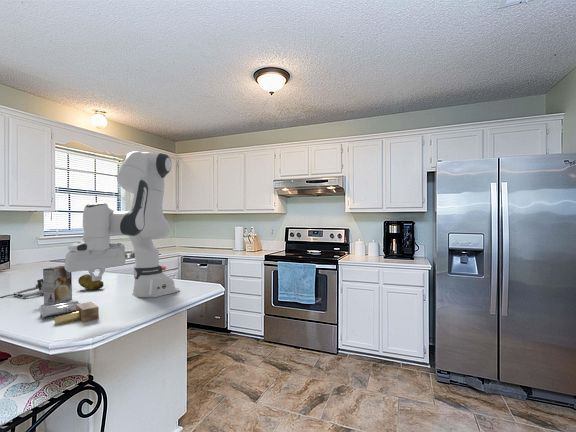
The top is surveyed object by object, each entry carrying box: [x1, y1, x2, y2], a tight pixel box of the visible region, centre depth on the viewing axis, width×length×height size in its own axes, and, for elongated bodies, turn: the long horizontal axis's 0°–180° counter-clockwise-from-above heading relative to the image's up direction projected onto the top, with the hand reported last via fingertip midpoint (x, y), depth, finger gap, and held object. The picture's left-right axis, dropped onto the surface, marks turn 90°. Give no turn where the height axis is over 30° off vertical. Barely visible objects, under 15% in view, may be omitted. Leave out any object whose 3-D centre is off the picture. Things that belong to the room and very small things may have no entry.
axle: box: [54, 311, 81, 326], centre depth 115 cm, size 13×3×3 cm, turn 137°
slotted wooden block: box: [76, 301, 100, 323], centre depth 117 cm, size 5×10×6 cm, turn 46°
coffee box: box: [42, 265, 73, 305], centre depth 145 cm, size 9×6×16 cm
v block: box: [39, 300, 81, 321], centre depth 121 cm, size 12×7×5 cm, turn 136°
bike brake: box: [0, 278, 44, 299], centre depth 157 cm, size 14×7×20 cm
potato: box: [77, 273, 104, 291], centre depth 169 cm, size 8×13×8 cm, turn 64°
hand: (96, 280), depth 119 cm, fingers closed
